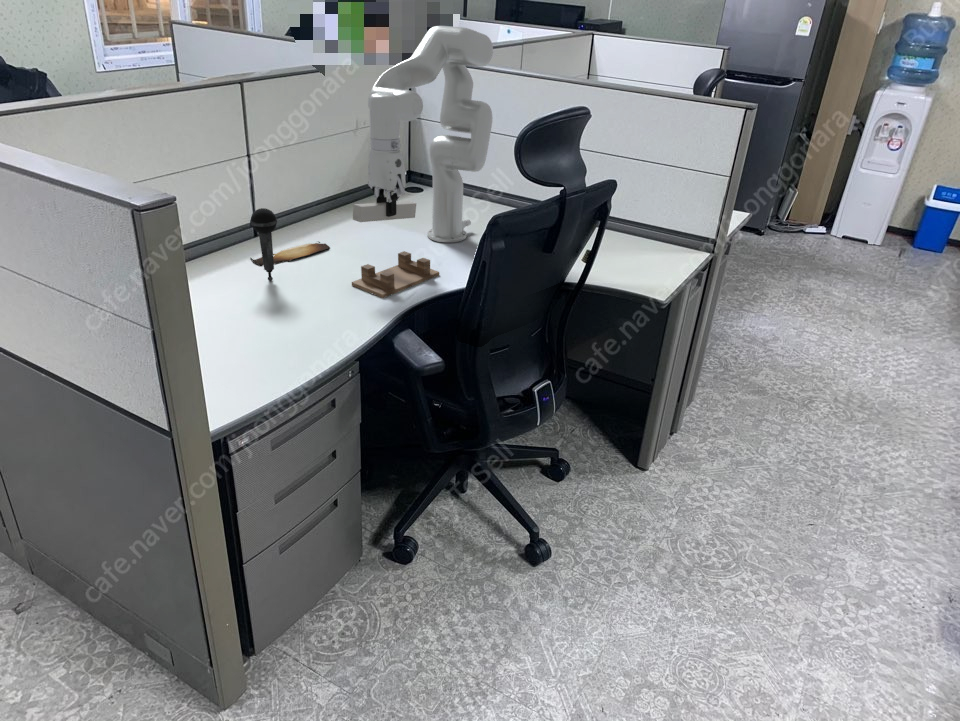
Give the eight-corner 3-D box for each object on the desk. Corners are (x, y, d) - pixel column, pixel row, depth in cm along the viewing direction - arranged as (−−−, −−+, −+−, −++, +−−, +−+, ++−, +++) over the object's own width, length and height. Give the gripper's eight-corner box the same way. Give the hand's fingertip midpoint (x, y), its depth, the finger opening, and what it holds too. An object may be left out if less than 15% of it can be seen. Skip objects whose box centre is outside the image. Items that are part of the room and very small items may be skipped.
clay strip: (407, 215, 202) (408, 201, 200) (415, 217, 200) (416, 203, 199) (352, 219, 187) (353, 204, 185) (360, 222, 185) (361, 206, 184)
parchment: (318, 241, 224) (318, 238, 223) (337, 249, 218) (337, 246, 217) (246, 261, 208) (246, 258, 208) (264, 270, 202) (264, 267, 202)
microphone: (260, 287, 191) (251, 214, 181) (254, 278, 196) (245, 206, 186) (286, 283, 193) (279, 211, 184) (280, 274, 199) (272, 203, 189)
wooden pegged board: (408, 264, 209) (408, 247, 207) (439, 275, 203) (439, 258, 200) (351, 285, 194) (350, 268, 192) (383, 298, 188) (382, 280, 185)
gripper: (418, 147, 183) (418, 218, 191) (374, 137, 192) (376, 205, 201) (396, 152, 178) (397, 224, 186) (352, 141, 187) (355, 210, 195)
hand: (386, 213), depth 193 cm, fingers closed on clay strip, 3 cm apart
